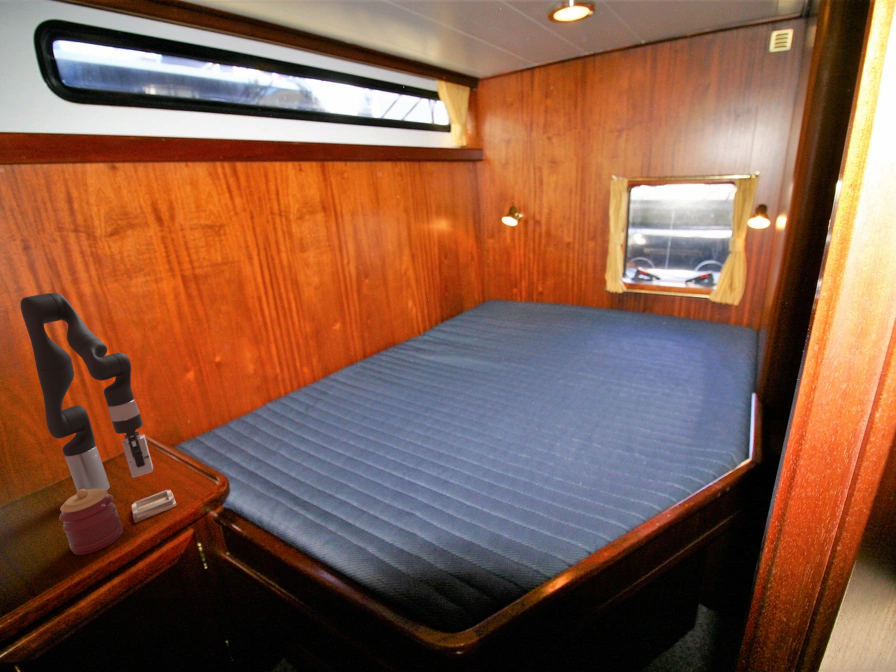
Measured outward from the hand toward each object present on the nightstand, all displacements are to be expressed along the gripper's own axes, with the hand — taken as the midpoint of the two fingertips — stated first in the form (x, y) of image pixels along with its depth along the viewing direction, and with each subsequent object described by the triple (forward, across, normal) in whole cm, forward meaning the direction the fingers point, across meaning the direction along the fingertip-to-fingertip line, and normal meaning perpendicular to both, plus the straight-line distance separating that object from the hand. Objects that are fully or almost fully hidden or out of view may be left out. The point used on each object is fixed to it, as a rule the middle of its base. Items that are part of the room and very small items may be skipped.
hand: (140, 463), depth 149 cm
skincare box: (+4, 0, 0) cm, 4 cm away
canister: (+17, +7, -15) cm, 24 cm away
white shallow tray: (+17, 0, 0) cm, 17 cm away
